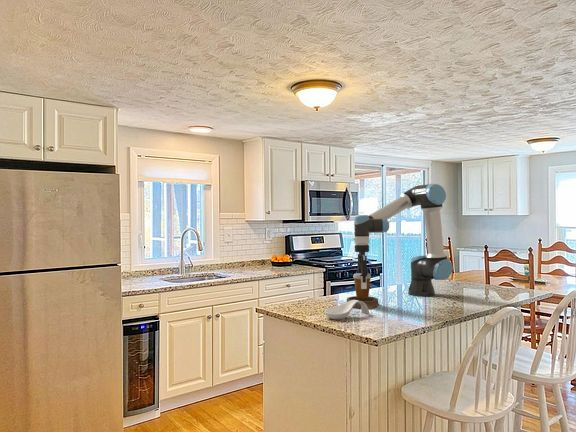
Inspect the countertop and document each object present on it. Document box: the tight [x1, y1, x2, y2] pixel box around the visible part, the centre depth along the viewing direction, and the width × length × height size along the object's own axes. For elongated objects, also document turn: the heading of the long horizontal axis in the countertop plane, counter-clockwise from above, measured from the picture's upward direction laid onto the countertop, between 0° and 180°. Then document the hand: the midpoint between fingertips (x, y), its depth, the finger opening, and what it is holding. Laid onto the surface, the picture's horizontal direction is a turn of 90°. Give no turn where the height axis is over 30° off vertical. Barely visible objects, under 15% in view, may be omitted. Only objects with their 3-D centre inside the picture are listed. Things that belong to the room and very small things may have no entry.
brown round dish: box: [346, 295, 380, 310], centre depth 229 cm, size 17×17×4 cm
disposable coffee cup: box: [352, 272, 372, 298], centre depth 230 cm, size 10×10×12 cm
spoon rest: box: [324, 300, 370, 321], centre depth 205 cm, size 24×12×7 cm, turn 124°
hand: (362, 287), depth 229 cm, fingers closed on disposable coffee cup, 9 cm apart
